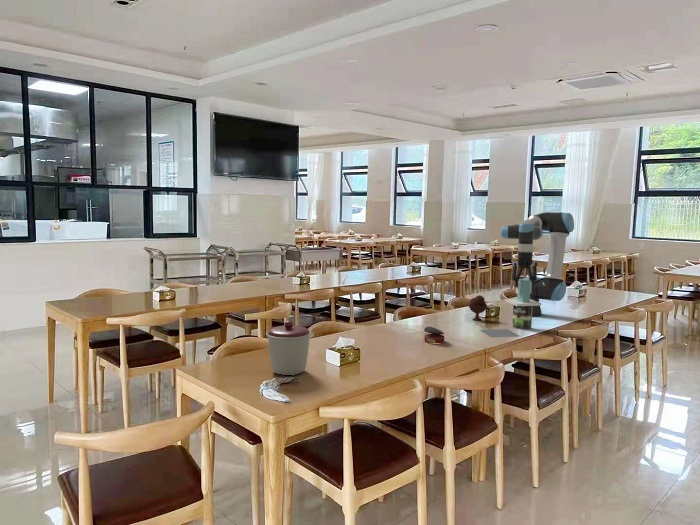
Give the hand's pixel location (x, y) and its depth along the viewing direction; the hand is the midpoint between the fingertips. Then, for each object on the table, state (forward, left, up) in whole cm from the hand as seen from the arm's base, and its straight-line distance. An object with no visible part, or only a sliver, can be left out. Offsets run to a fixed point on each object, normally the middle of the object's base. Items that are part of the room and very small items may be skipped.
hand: (523, 293), depth 286 cm
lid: (0, 0, -6) cm, 6 cm away
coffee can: (0, 0, -20) cm, 20 cm away
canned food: (+57, +22, -20) cm, 64 cm away
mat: (+18, +11, -20) cm, 29 cm away
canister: (+130, +62, -20) cm, 145 cm away
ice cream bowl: (+17, -23, -20) cm, 35 cm away
